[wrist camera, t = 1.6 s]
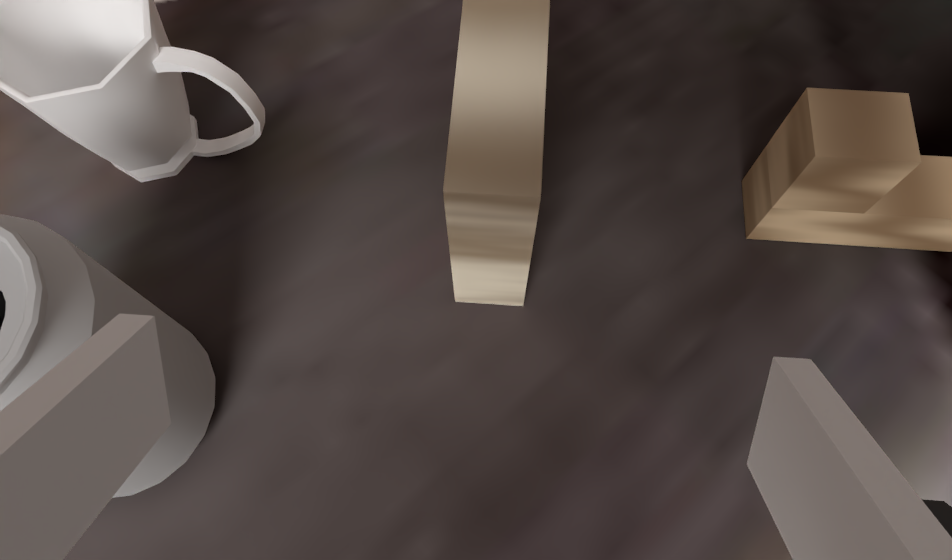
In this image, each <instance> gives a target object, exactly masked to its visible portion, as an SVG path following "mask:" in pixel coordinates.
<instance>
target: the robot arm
mask: <svg viewBox="0 0 952 560" xmlns="http://www.w3.org/2000/svg"><path fill="white" fill-rule="evenodd" d="M170 424H171V419H170V413H169V406H168V400H167V393H166V387H165V380H164V374H163V368H162V361H161V355H160V348H159V342H158V336H157V329H156V323H155V316H150V315H135V314H118V315H117V316H116V317H115V318H113V319H112V320H111V321H110V322H108V323H107V324H106V325H105V326H104V327H102V328H101V329H100V330H99V331H97V332H96V333H95V334H94V335H93V336H91V337H90V338H89V339H88V340H87V341H85V342H84V343H83V344H82V345H80V346H79V347H78V348H77V349H76V350H74V351H73V352H72V353H71V354H69V355H68V356H67V357H66V358H65V359H63V360H62V361H61V362H60V363H59V364H57V365H56V366H55V367H54V368H52V369H51V370H50V371H49V372H48V373H46V374H45V375H44V376H43V377H41V378H40V379H39V380H38V381H37V382H35V383H34V384H33V385H32V386H30V387H29V388H28V389H27V390H26V391H24V392H23V393H22V394H21V395H20V396H18V397H17V398H16V399H15V400H13V401H12V402H11V403H10V404H9V405H7V406H6V407H5V408H4V409H2V410H1V411H0V560H63V559H64V558H65V556H66V555H67V554H68V553H69V551H70V550H71V549H72V548H73V546H74V545H75V544H76V543H77V541H78V540H79V539H80V538H81V536H82V535H83V534H84V532H85V531H86V530H87V529H88V527H89V526H90V525H91V524H92V522H93V521H94V520H95V519H96V517H97V516H98V515H99V514H100V512H101V511H102V510H103V509H104V507H105V506H106V505H107V503H108V502H109V501H110V500H111V498H112V497H113V496H114V495H115V493H116V492H117V491H118V490H119V488H120V487H121V486H122V485H123V483H124V482H125V481H126V479H127V478H128V477H129V476H130V474H131V473H132V472H133V471H134V469H135V468H136V467H137V466H138V464H139V463H140V462H141V461H142V459H143V458H144V457H145V456H146V454H147V453H148V452H149V450H150V449H151V448H152V447H153V445H154V444H155V443H156V442H157V440H158V439H159V438H160V437H161V435H162V434H163V433H164V432H165V430H166V429H167V428H168V427H169V425H170ZM747 466H748V468H749V470H750V472H751V474H752V476H753V478H754V480H755V482H756V484H757V486H758V488H759V491H760V493H761V495H762V497H763V499H764V501H765V503H766V505H767V507H768V509H769V511H770V513H771V515H772V518H773V520H774V522H775V524H776V526H777V528H778V530H779V532H780V534H781V536H782V538H783V540H784V542H785V544H786V547H787V549H788V551H789V553H790V555H791V557H792V559H793V560H952V507H951V506H949V505H948V504H947V503H945V502H944V501H933V500H922V499H921V498H920V497H919V496H918V494H917V493H916V492H915V491H914V489H913V488H912V487H911V486H910V484H909V483H908V482H907V480H906V479H905V478H904V477H903V475H902V474H901V473H900V472H899V470H898V469H897V468H896V467H895V465H894V464H893V463H892V461H891V460H890V459H889V458H888V456H887V455H886V454H885V453H884V451H883V450H882V449H881V448H880V446H879V445H878V444H877V443H876V441H875V440H874V439H873V437H872V436H871V435H870V434H869V432H868V431H867V430H866V429H865V427H864V426H863V425H862V424H861V422H860V421H859V420H858V418H857V417H856V416H855V415H854V413H853V412H852V411H851V410H850V408H849V407H848V406H847V405H846V403H845V402H844V401H843V399H842V398H841V397H840V396H839V394H838V393H837V392H836V391H835V389H834V388H833V387H832V386H831V384H830V383H829V382H828V380H827V379H826V378H825V377H824V375H823V374H822V373H821V372H820V370H819V369H818V368H817V367H816V365H815V364H814V363H813V361H812V360H811V359H800V358H785V357H773V361H772V365H771V369H770V373H769V377H768V381H767V385H766V389H765V393H764V397H763V401H762V405H761V409H760V413H759V417H758V421H757V425H756V429H755V433H754V437H753V441H752V445H751V449H750V453H749V457H748V461H747Z"/></svg>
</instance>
